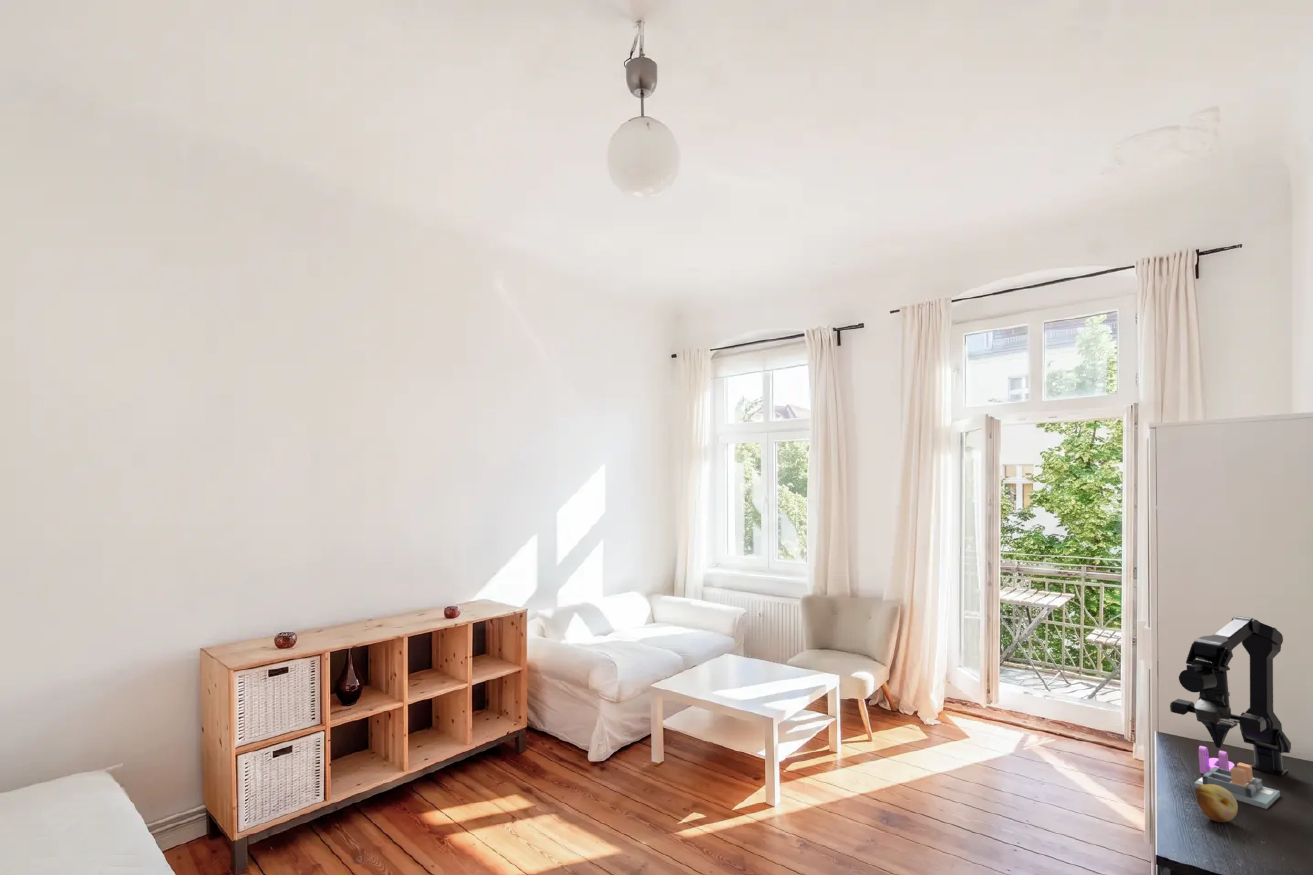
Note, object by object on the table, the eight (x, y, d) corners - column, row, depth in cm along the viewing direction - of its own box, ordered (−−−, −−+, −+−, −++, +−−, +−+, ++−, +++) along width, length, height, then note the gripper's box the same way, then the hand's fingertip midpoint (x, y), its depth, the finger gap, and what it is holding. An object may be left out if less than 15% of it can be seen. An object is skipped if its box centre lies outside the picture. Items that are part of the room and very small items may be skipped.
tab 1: (1234, 786, 163) (1232, 766, 164) (1249, 790, 161) (1247, 770, 161) (1230, 789, 162) (1228, 768, 162) (1245, 793, 159) (1244, 773, 160)
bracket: (1226, 780, 170) (1224, 753, 171) (1200, 773, 175) (1198, 747, 175) (1236, 767, 178) (1234, 742, 179) (1211, 761, 183) (1209, 736, 183)
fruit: (1199, 823, 148) (1196, 787, 149) (1194, 808, 155) (1192, 774, 155) (1242, 832, 143) (1239, 796, 144) (1236, 817, 150) (1233, 782, 151)
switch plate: (1209, 775, 173) (1208, 763, 173) (1279, 795, 161) (1278, 782, 161) (1194, 787, 166) (1193, 774, 166) (1266, 808, 154) (1265, 795, 155)
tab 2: (1240, 781, 166) (1238, 761, 166) (1255, 785, 164) (1253, 765, 164) (1236, 784, 164) (1234, 764, 165) (1251, 788, 162) (1250, 768, 162)
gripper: (1160, 684, 173) (1165, 742, 172) (1251, 702, 158) (1256, 767, 156) (1175, 677, 179) (1179, 734, 178) (1264, 694, 164) (1269, 756, 163)
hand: (1218, 747), depth 169 cm, fingers closed
